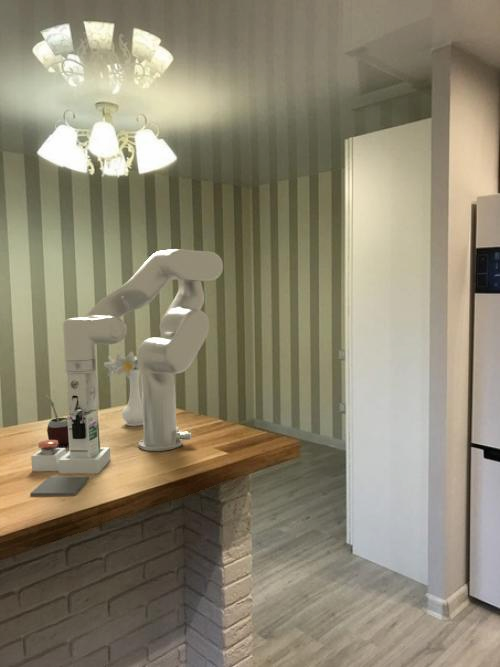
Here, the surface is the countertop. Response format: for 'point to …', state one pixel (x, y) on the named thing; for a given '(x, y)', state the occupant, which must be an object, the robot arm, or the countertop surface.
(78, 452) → the syrup box
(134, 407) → the flower vase
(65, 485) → the mat
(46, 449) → the copper rounded piece
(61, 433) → the mate gourd
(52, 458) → the housing
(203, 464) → the countertop surface
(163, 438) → the robot arm
